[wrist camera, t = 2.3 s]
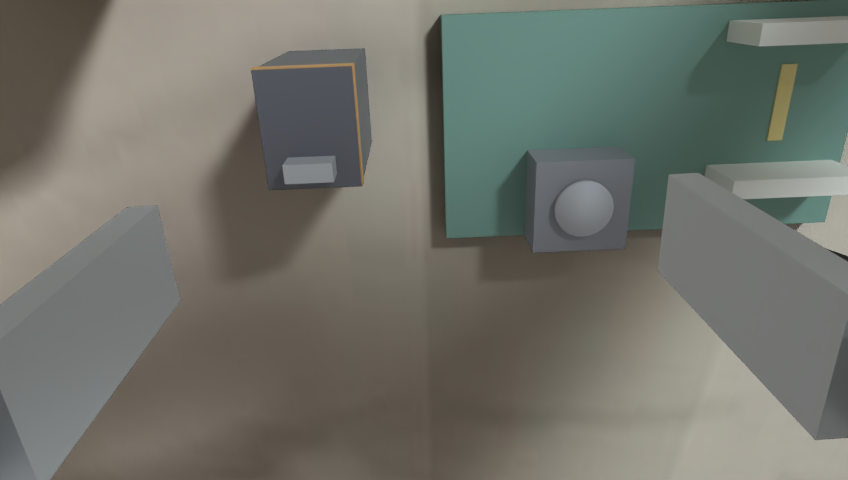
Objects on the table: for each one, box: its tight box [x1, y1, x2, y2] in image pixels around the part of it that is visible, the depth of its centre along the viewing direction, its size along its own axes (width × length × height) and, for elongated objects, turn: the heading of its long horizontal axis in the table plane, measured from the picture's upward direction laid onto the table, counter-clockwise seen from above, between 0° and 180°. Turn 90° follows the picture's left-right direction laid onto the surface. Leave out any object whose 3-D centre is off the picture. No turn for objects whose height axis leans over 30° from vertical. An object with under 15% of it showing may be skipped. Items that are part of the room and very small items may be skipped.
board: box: [440, 0, 848, 253], centre depth 30 cm, size 12×22×4 cm, turn 92°
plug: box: [251, 48, 372, 190], centre depth 27 cm, size 5×4×9 cm
